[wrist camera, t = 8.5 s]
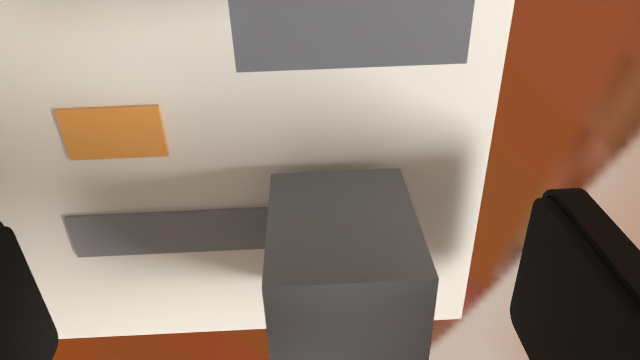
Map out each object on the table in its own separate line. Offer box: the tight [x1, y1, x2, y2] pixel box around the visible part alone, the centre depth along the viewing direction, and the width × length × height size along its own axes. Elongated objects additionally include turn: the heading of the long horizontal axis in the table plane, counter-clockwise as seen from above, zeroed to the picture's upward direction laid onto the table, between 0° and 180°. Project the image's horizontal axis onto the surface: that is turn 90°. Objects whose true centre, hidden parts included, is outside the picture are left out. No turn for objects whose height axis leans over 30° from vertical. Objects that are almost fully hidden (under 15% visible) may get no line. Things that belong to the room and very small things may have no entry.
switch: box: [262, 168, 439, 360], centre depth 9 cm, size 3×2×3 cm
